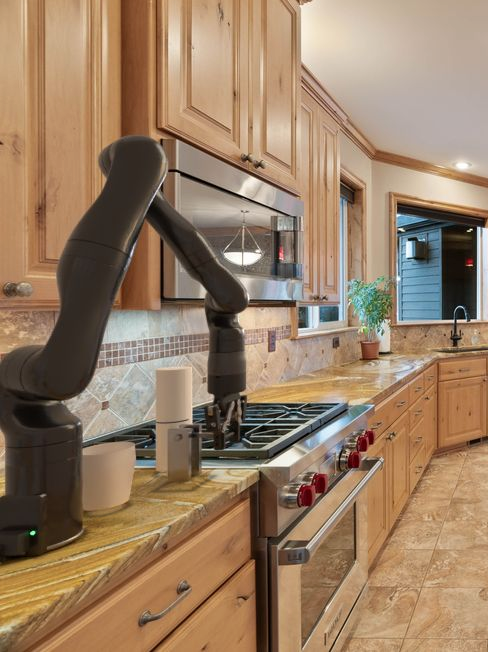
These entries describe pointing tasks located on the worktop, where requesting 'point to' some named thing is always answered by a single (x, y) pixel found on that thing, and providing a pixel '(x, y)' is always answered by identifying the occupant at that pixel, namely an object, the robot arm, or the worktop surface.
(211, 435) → the lever
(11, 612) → the worktop surface
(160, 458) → the cylindrical container
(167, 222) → the robot arm
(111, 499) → the cup
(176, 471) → the bracket
